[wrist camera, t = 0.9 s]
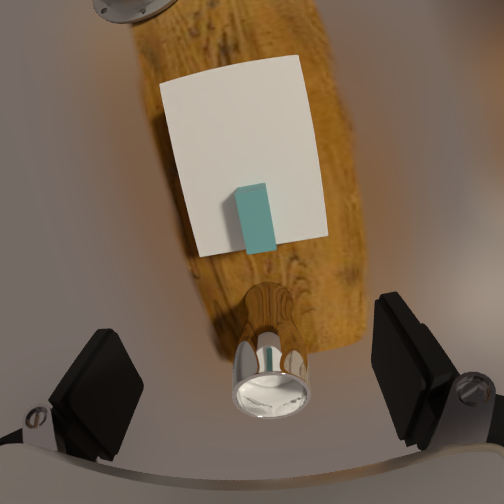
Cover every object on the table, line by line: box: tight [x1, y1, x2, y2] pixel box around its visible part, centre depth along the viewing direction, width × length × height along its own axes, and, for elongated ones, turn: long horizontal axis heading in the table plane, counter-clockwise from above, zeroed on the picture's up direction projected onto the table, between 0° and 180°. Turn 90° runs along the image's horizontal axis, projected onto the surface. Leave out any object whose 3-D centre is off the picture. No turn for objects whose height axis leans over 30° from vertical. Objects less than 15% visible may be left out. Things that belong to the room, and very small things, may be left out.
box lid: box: [160, 55, 328, 257], centre depth 22 cm, size 16×12×4 cm
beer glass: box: [232, 282, 311, 419], centre depth 29 cm, size 7×7×15 cm
